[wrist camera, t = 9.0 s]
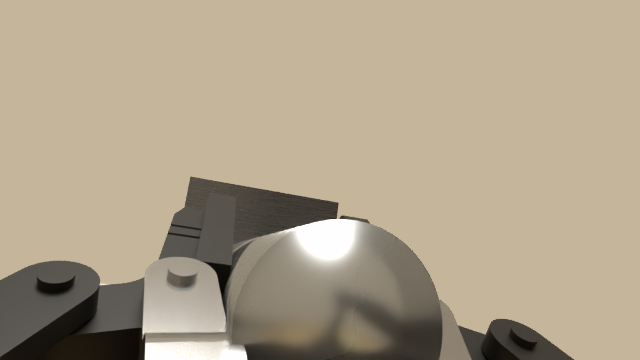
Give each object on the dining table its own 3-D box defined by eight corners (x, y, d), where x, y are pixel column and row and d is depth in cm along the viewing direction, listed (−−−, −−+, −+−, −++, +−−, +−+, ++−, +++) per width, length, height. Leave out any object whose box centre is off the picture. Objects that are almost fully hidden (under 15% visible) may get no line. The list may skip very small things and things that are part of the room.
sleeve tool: (289, 307, 25) (303, 215, 26) (526, 459, 7) (543, 128, 8) (175, 293, 24) (193, 197, 25) (81, 434, 5) (167, 39, 6)
